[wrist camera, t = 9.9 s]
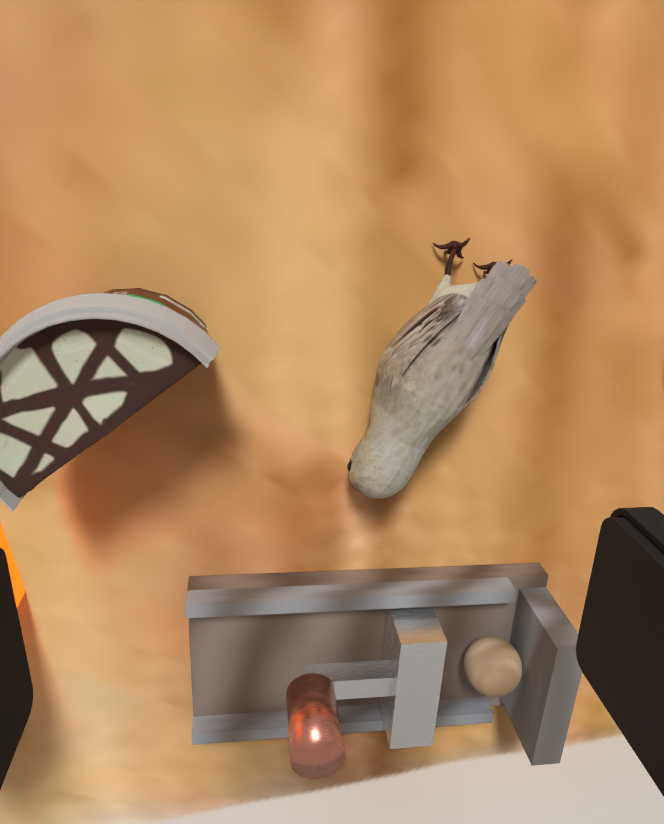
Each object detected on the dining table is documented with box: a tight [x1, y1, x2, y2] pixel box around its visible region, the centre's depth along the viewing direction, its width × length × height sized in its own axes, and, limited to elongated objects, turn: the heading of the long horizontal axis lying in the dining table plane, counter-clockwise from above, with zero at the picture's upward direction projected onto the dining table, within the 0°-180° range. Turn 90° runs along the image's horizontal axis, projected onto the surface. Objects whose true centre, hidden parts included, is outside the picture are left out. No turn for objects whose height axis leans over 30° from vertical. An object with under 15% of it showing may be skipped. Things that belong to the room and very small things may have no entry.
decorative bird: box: [348, 238, 536, 499], centre depth 35 cm, size 5×16×8 cm, turn 155°
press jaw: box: [286, 607, 447, 779], centre depth 41 cm, size 10×9×8 cm
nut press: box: [185, 563, 582, 765], centre depth 43 cm, size 25×12×8 cm, turn 87°
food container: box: [0, 288, 220, 512], centre depth 31 cm, size 12×6×10 cm, turn 125°
